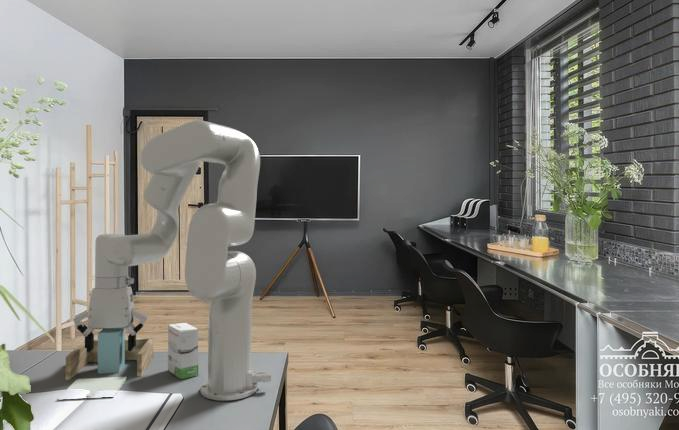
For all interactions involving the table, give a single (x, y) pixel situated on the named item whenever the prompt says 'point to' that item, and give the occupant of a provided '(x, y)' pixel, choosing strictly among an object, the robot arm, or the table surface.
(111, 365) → the teal block
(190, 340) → the ink box
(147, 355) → the crate
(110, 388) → the felt mat
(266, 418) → the table surface
